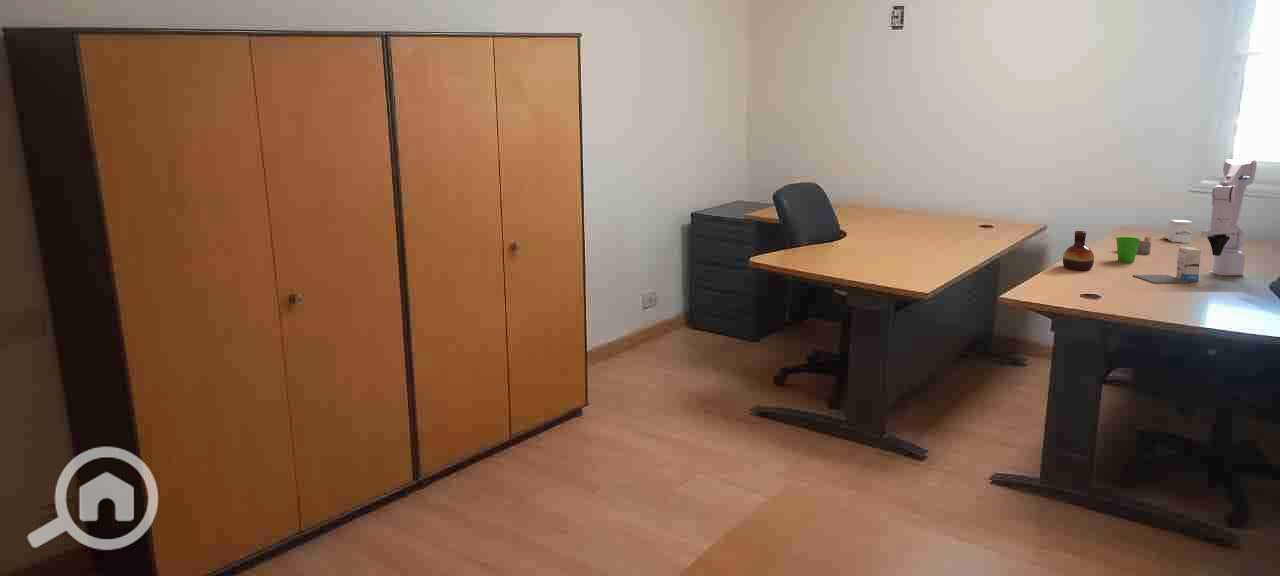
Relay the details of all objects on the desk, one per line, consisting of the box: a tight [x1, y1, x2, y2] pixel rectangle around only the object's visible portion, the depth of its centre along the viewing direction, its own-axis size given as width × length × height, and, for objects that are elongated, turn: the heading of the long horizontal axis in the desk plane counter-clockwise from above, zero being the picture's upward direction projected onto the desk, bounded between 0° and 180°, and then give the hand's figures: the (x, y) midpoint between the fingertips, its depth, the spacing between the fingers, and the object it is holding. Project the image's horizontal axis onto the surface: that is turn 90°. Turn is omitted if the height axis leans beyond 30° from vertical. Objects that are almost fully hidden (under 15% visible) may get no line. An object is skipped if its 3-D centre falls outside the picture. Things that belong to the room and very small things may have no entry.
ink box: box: [1175, 246, 1202, 282], centre depth 335 cm, size 9×5×12 cm, turn 168°
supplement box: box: [1166, 219, 1194, 244], centre depth 407 cm, size 7×7×13 cm
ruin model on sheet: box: [1136, 236, 1152, 255], centre depth 384 cm, size 11×3×10 cm, turn 59°
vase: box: [1062, 230, 1095, 272], centre depth 355 cm, size 11×11×15 cm
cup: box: [1115, 236, 1142, 264], centre depth 366 cm, size 9×9×11 cm
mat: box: [1132, 274, 1191, 284], centre depth 336 cm, size 13×15×1 cm
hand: (1216, 255), depth 334 cm, fingers closed
